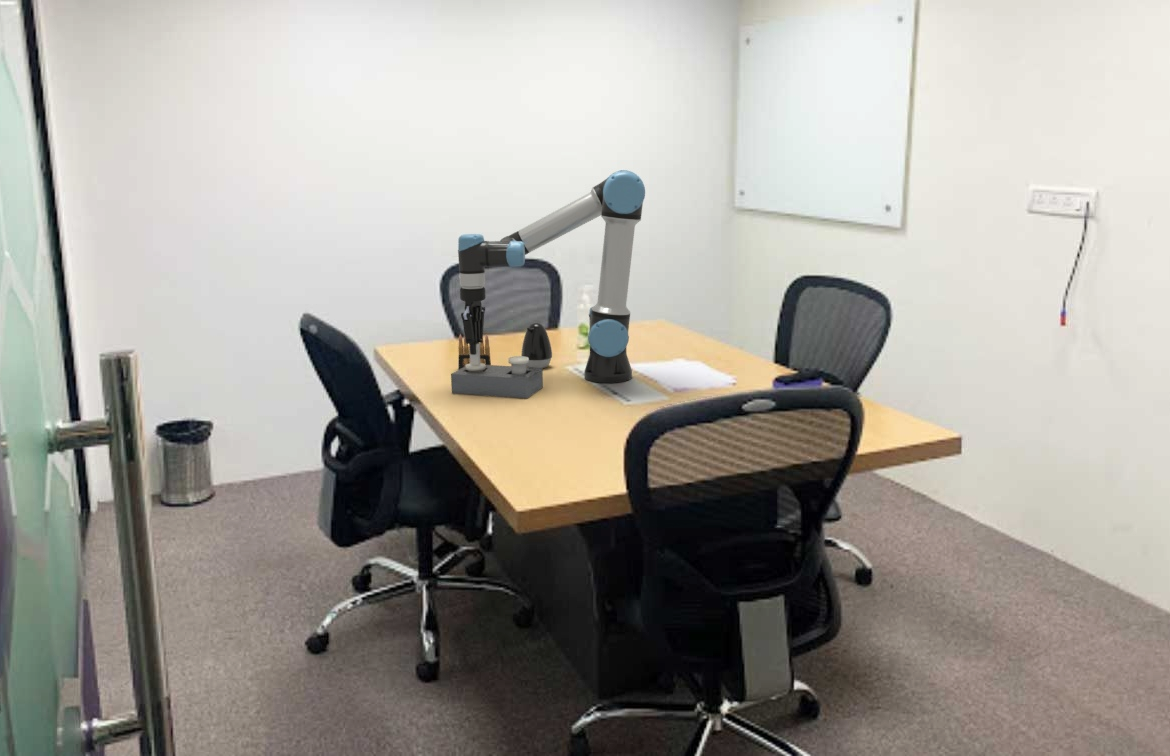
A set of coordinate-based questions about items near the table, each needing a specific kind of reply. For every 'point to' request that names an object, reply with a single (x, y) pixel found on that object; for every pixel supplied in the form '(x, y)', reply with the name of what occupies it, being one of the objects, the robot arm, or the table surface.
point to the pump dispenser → (537, 346)
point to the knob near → (518, 364)
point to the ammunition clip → (465, 355)
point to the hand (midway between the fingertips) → (475, 364)
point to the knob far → (476, 367)
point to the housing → (497, 382)
